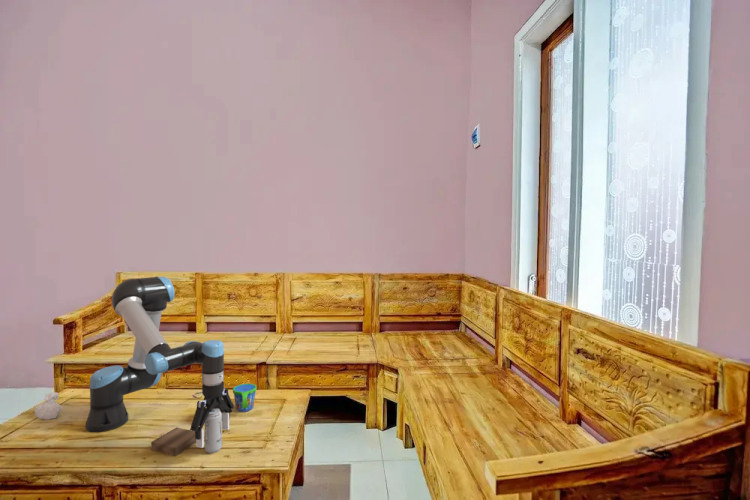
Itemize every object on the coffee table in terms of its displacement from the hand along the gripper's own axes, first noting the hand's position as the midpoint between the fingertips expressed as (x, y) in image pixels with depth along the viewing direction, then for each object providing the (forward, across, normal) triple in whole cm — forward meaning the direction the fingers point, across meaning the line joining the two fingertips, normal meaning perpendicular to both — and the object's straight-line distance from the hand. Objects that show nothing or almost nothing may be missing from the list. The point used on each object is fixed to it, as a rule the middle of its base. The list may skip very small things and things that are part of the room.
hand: (213, 437), depth 147 cm
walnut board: (+5, -2, +16) cm, 17 cm away
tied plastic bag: (+5, -3, +87) cm, 87 cm away
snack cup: (+5, +33, +11) cm, 35 cm away
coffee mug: (+5, +21, +16) cm, 27 cm away
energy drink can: (+5, 0, 0) cm, 5 cm away
